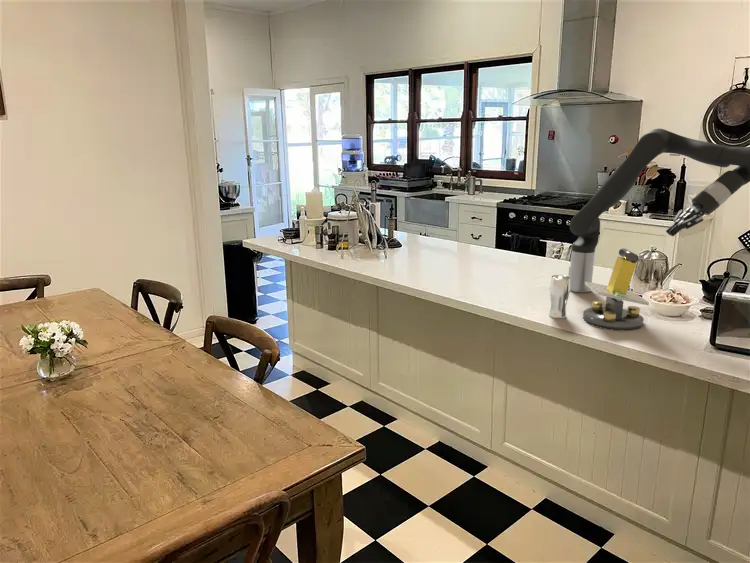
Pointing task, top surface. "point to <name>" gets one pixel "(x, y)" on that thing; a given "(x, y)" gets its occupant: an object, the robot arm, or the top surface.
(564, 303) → the beer glass
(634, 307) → the disc with brass knobs
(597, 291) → the yellow block with roller
